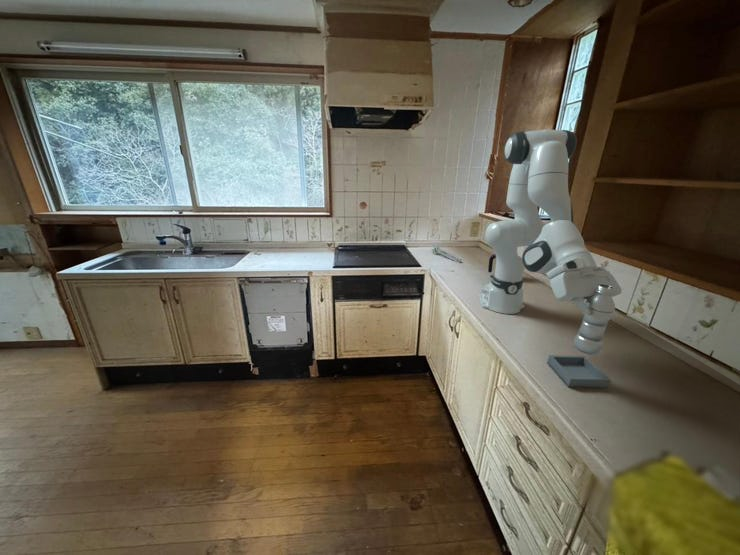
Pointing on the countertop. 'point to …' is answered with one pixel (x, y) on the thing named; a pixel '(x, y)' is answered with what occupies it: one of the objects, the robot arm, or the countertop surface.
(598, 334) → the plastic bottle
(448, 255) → the wrench
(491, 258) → the milk frother
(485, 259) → the countertop surface
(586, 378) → the holder
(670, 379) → the countertop surface
